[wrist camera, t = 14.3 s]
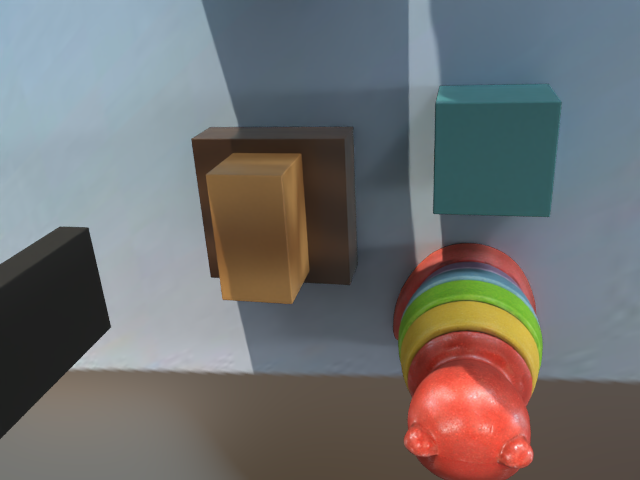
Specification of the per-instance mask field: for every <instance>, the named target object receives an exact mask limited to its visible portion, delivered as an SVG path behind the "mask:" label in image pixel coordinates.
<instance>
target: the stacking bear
mask: <svg viewBox="0 0 640 480" xmlns="http://www.w3.org/2000/svg"><path fill="white" fill-rule="evenodd" d="M393 332H394V336H395V338H396V339H397V340H398V347H399V357H400V362H401V367H402V372H403V377H404V380H405V383H406V386H407V388H408V390H409V392H410V394H411V396H412V400H411V403H410V407H409V411H408V431H407V433H406V434H405V437H404V445H405V447H406V448H407V449H408V450H409V451H410V452H411V453H412V454H414V455H416V457H417V458H418V460H419V461H420V462H421V464H422V465H423V466H425V467H426V468H427V469H428V470H430V471H431V472H432V473H434V474H435V475H436V476H438V477H440V478H442V479H444V480H506V479H508V478H509V477H511V476H512V475H514V474H515V473H516V472H517V471H518V470H519V469H520V468H524V467H526V466H528V465H529V464H530V463H531V462H532V460H533V450H532V447H531V446H530V438H531V431H530V420H529V415H528V411H527V409H526V406H527V404H528V402H529V400H530V397H531V395H532V393H533V391H534V388H535V385H536V382H537V378H538V373H539V370H540V366H541V360H542V348H543V345H542V334H541V330H540V325H539V321H538V319H537V316H536V307H535V301H534V297H533V293H532V290H531V287H530V285H529V283H528V280H527V279H526V277H525V275H524V273H523V271H522V270H521V268H520V267H519V266H518V265H517V263H516V262H515V261H514V260H512V259H511V258H510V257H509V256H507V255H506V254H505V253H503V252H501V251H499V250H497V249H495V248H492V247H490V246H486V245H482V244H475V243H461V244H455V245H449V246H447V247H444V248H441V249H439V250H437V251H435V252H433V253H432V254H430V255H429V256H428V257H426V258H425V259H424V260H423V261H422V262H421V263H420V264H419V265H418V266H417V267H416V268H415V270H414V271H413V272H412V273H411V275H410V276H409V277H408V279H407V281H406V282H405V284H404V286H403V287H402V289H401V292H400V294H399V297H398V300H397V303H396V306H395V312H394V320H393Z"/></svg>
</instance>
